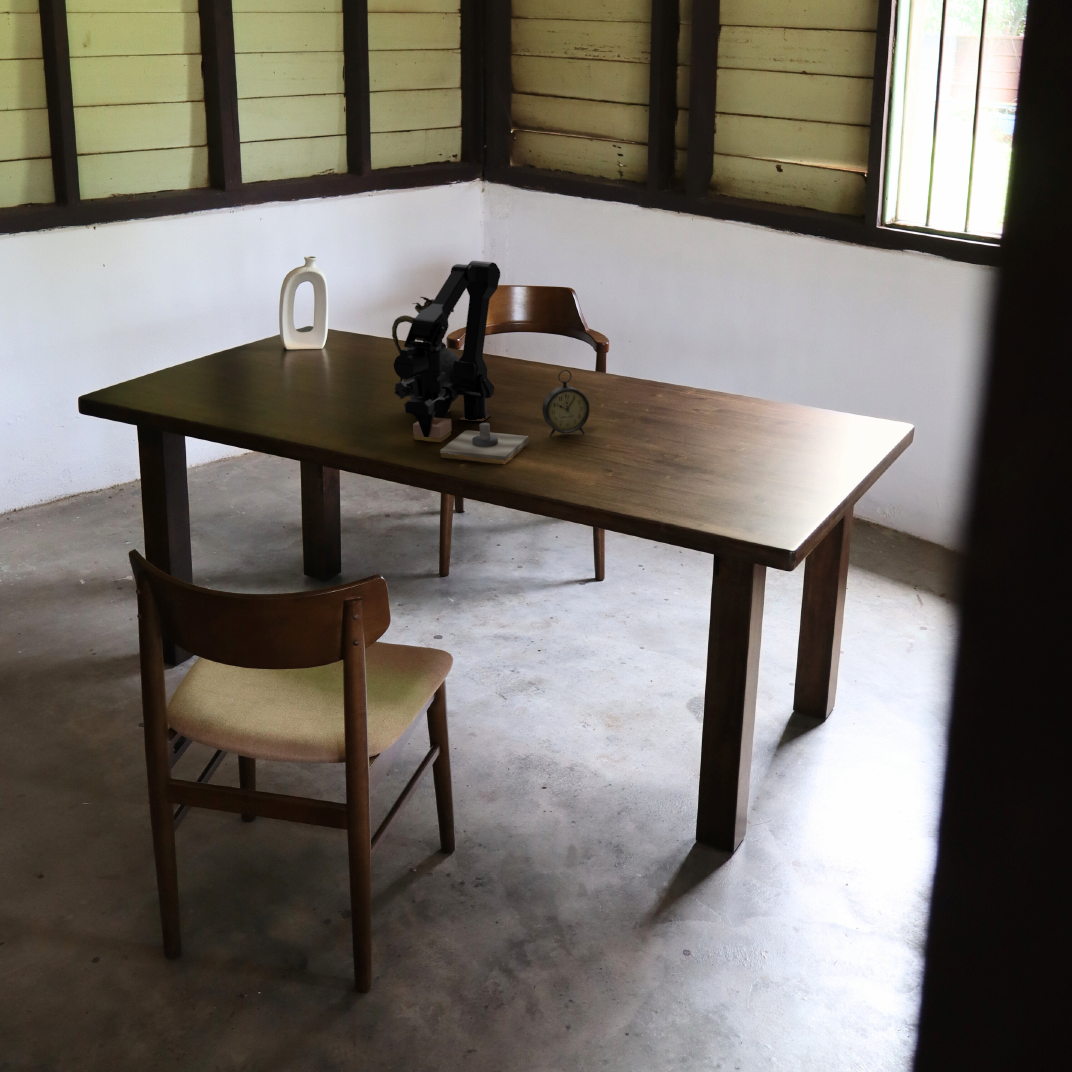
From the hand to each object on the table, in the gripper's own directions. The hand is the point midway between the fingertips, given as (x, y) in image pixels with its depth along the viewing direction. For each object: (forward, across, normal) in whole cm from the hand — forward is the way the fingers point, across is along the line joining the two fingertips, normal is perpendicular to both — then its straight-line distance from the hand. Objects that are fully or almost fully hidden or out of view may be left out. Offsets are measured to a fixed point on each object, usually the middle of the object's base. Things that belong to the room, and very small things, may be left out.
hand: (432, 432), depth 287 cm
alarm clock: (+2, -12, +30) cm, 32 cm away
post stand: (+1, +6, +16) cm, 17 cm away
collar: (+1, 0, 0) cm, 1 cm away
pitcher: (+2, -21, -10) cm, 23 cm away
